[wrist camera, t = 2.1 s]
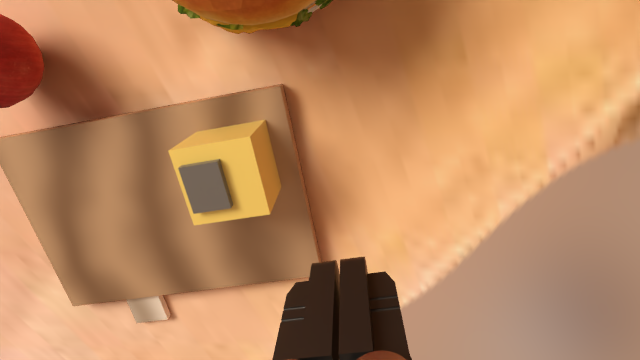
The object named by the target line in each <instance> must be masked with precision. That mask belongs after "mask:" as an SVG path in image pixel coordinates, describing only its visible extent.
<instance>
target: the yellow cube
mask: <svg viewBox="0 0 640 360" xmlns="http://www.w3.org/2000/svg"><path fill="white" fill-rule="evenodd" d="M168 152H169V155H170V157H171V160H172V163H173V166H174V169H175V172H176V175H177V178H178V181H179V184H180V186H181V189H182V192H183V195H184V198H185V201H186V204H187V207H188V210H189V213H190V216H191V218H192V221H193V224H194V225H201V224H208V223H215V222H221V221H228V220H235V219H242V218H249V217H256V216H263V215H269V214H271V211H272V209H273V206H274V204H275V201H276V199H277V196H278V194H279V191H280V189H281V183H280V179H279V175H278V170H277V166H276V162H275V158H274V154H273V150H272V146H271V141H270V137H269V133H268V129H267V125H266V121H265V120H261V121H255V122H250V123H244V124H238V125H233V126H227V127H221V128H216V129H210V130H205V131H199V132H195V133H194V134H192V135H191V136H189V137H188V138H186V139H185V140H183V141H182V142H180V143H179V144H177V145H176V146H175V147H173V148H172V149H170V150H169V151H168Z"/></svg>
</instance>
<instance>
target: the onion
mask: <svg viewBox="0 0 640 360" xmlns="http://www.w3.org/2000/svg"><path fill="white" fill-rule="evenodd" d="M43 70H44V63H43V58H42V54H41V51H40V49H39V47H38V46H37V44H36V42H35V40H34V39H33V37H32V36H31V35H30V34H29V33H28V32H27V31H26V30H25V29H24V28H23V27H22V26H21V25H19V24H18V23H16V22H15V21H13V20H11V19H9V18H7V17H5V16H3V15H1V14H0V108H6V107H10V106H12V105H14V104H16V103H18V102H20V101H22V100H24V99H26V98H28V97H29V96H31V95H32V94H33V92H34V91H35V89H36V88H37V87H38V85H39V84H40V82H41V80H42V76H43Z"/></svg>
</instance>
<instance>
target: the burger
mask: <svg viewBox="0 0 640 360" xmlns="http://www.w3.org/2000/svg"><path fill="white" fill-rule="evenodd" d="M173 1H174V2H175V3H177V4H178V12H179V13H181V14H187V15H188V16H189V17H190V18H200V19H202V20H204V21H207V22H208V23H210V24H212V25H214V26H218V27H221V28H223V29H224V30H226V31H228V32H232V33H237V34H239V33H242V32H246V33H249V34H250V33H253V32H255V31H258V30H261V29H265V30H267V29H276V28H284V27H290V26H293V25H295V26H296V27H297V26H300V25H301V23H302V22H304V21H308V20H309V18H310V17H311V15H312V12H314V11H315V10H317V9H318V8H320V9H322V8H324V7H326V6H327V5H328V4H330V3H331V2H332V1H333V0H173Z"/></svg>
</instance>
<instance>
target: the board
mask: <svg viewBox="0 0 640 360" xmlns="http://www.w3.org/2000/svg"><path fill="white" fill-rule="evenodd" d="M261 120H265V121H266V125H267V129H268V133H269V137H270V141H271V146H272V150H273V154H274V158H275V162H276V166H277V170H278V175H279V179H280V183H281V189H280V191H279V194H278V196H277V199H276V201H275V204H274V206H273V209H272V211H271V214H269V215H263V216H256V217H249V218H242V219H235V220H228V221H221V222H215V223H208V224H201V225H194V224H193V221H192V218H191V216H190V213H189V210H188V207H187V204H186V201H185V198H184V195H183V192H182V189H181V186H180V184H179V181H178V178H177V175H176V172H175V169H174V166H173V163H172V160H171V157H170V155H169V152H168V151H169V150H170V149H172V148H173V147H175V146H176V145H177V144H179V143H180V142H182V141H183V140H185V139H186V138H188V137H189V136H191V135H192V134H194V133H195V132H199V131H205V130H210V129H216V128H221V127H227V126H233V125H238V124H244V123H250V122H255V121H261ZM0 165H1V167H2V169H3V171H4V173H5V175H6V177H7V179H8V181H9V183H10V185H11V186H12V188H13V190H14V192H15V194H16V196H17V198H18V200H19V202H20V204H21V206H22V208H23V210H24V212H25V214H26V216H27V218H28V220H29V221H30V223H31V225H32V227H33V229H34V231H35V233H36V235H37V237H38V239H39V241H40V243H41V245H42V247H43V249H44V251H45V253H46V255H47V256H48V258H49V260H50V262H51V264H52V266H53V268H54V270H55V272H56V274H57V276H58V278H59V280H60V282H61V284H62V286H63V288H64V290H65V291H66V293H67V295H68V297H69V299H70V301H71V303H72V305H73V306H79V305H87V304H95V303H103V302H111V301H120V300H127V303H128V305H129V307H130V309H131V312H132V314H133V316H134V318H135V320H136V323H141V322H150V321H159V320H167V319H168V318H169V317H170V315H171V314H170V312H169V309H168V307H167V304H166V302H165V299H164V297H163V295H168V294H176V293H185V292H193V291H201V290H209V289H217V288H225V287H233V286H241V285H250V284H258V283H266V282H274V281H282V280H290V279H298V278H306V277H310V270H311V264H312V263H319V262H321V257H320V252H319V248H318V243H317V239H316V234H315V229H314V225H313V220H312V216H311V211H310V206H309V202H308V197H307V193H306V188H305V184H304V179H303V174H302V170H301V165H300V161H299V156H298V151H297V147H296V142H295V138H294V133H293V129H292V124H291V119H290V115H289V110H288V106H287V101H286V96H285V92H284V87H283V84H280V85H274V86H269V87H264V88H258V89H253V90H248V91H243V92H237V93H232V94H227V95H221V96H216V97H211V98H205V99H200V100H195V101H190V102H184V103H179V104H174V105H168V106H163V107H158V108H153V109H147V110H142V111H137V112H131V113H126V114H121V115H115V116H110V117H105V118H100V119H94V120H89V121H84V122H78V123H73V124H68V125H62V126H57V127H52V128H47V129H41V130H36V131H31V132H25V133H20V134H15V135H10V136H4V137H0Z"/></svg>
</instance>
